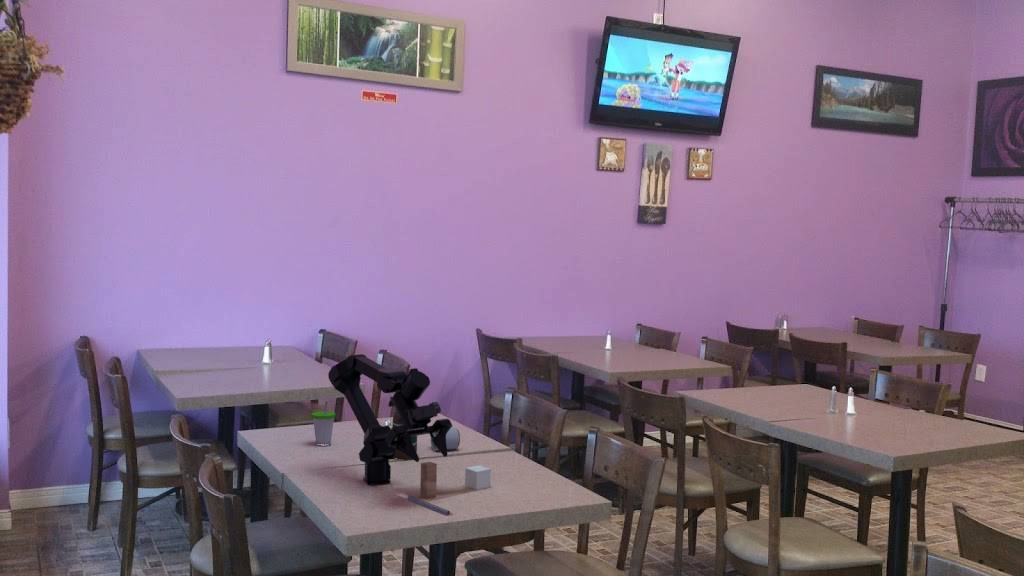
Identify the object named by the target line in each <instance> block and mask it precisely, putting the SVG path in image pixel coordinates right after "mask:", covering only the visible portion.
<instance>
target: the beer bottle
mask: <svg viewBox="0 0 1024 576" xmlns="http://www.w3.org/2000/svg"><path fill="white" fill-rule="evenodd" d="M399 419H400V417H399V415H398V412H397V410H396V409H395V411H394V413H393V417H392V427H393V426H400V425H403V423H401V424H399V421H398V420H399ZM411 442H412V444H413V446H414V448H415V450H416V452H417V453H418V436H411ZM394 457H395V458H397V459H396V460H399V459H404V461H409V460H413V459H412V458H410V457H409V456H407V455H406V454H405V453H403V452H401V451H400V450H398V449H397V448H396V452H395V456H394ZM395 458H394V459H395ZM408 459H409V460H408Z"/></svg>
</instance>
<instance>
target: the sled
mask: <svg viewBox="0 0 1024 576" xmlns="http://www.w3.org/2000/svg"><path fill="white" fill-rule="evenodd" d="M437 466H438V464H437V463H435V462H432V461H427V462H420V482H419V483H420V488H419V490H420V492H419V493H420V494H417V495H415V497H416V498H417V497H418V499H421V500H424V501H426V502H431V501H437V500H440V499H445V498H450V497H455V496H459V495H464V494H468V493H472V492H477V491H481V490H486V489H490V488H493V486H492V485H491V486H490V487H487V488H483V489H478V490H475V489H473V488H470V487H467V486H465V484H464V485H460V486H454V487H450V488H446V489H441V490H437V477H438V476H437V469H438V467H437Z"/></svg>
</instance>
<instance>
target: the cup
mask: <svg viewBox="0 0 1024 576" xmlns="http://www.w3.org/2000/svg"><path fill="white" fill-rule="evenodd" d="M327 405H328V401H325V404H324V411H315V412H312V413H311V418H312V421H313V428H314V430H313V431H314V437H315V444H316V443H317V444H324V445H325V444H330V443H331V442H332V437H333V428H334V421H335V418H336V412H334V411H327ZM331 444H332V443H331ZM331 444H330V445H331Z"/></svg>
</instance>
